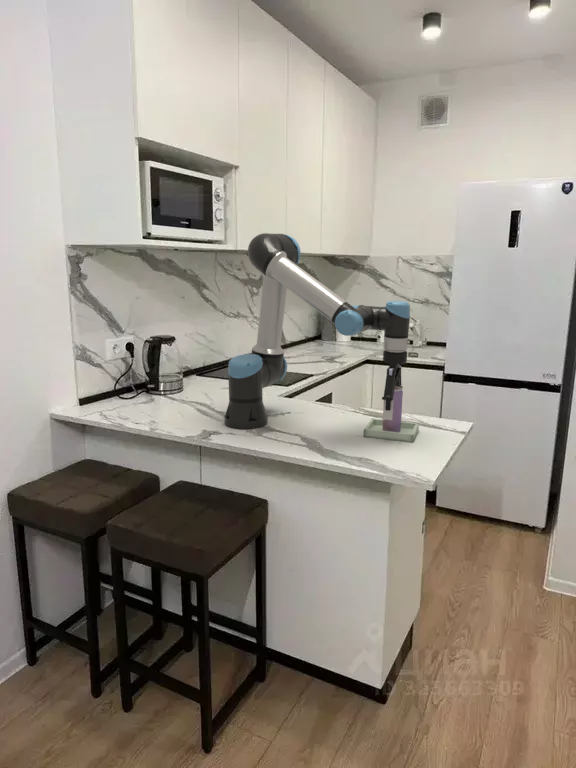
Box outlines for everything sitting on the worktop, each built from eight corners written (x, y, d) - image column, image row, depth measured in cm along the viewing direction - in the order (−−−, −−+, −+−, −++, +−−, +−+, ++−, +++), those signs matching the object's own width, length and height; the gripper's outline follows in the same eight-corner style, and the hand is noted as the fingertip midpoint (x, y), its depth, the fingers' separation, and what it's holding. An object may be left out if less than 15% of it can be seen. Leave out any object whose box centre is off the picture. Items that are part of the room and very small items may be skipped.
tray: (363, 436, 180) (363, 429, 179) (371, 425, 192) (371, 418, 191) (413, 442, 174) (413, 435, 174) (418, 430, 186) (418, 423, 186)
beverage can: (404, 431, 183) (406, 387, 179) (393, 435, 179) (396, 391, 175) (389, 427, 187) (391, 384, 183) (378, 431, 183) (380, 387, 179)
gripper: (401, 358, 164) (396, 426, 169) (412, 344, 187) (408, 405, 192) (376, 356, 166) (372, 423, 171) (390, 343, 189) (386, 402, 194)
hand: (391, 413), depth 182 cm, fingers open, 13 cm apart
